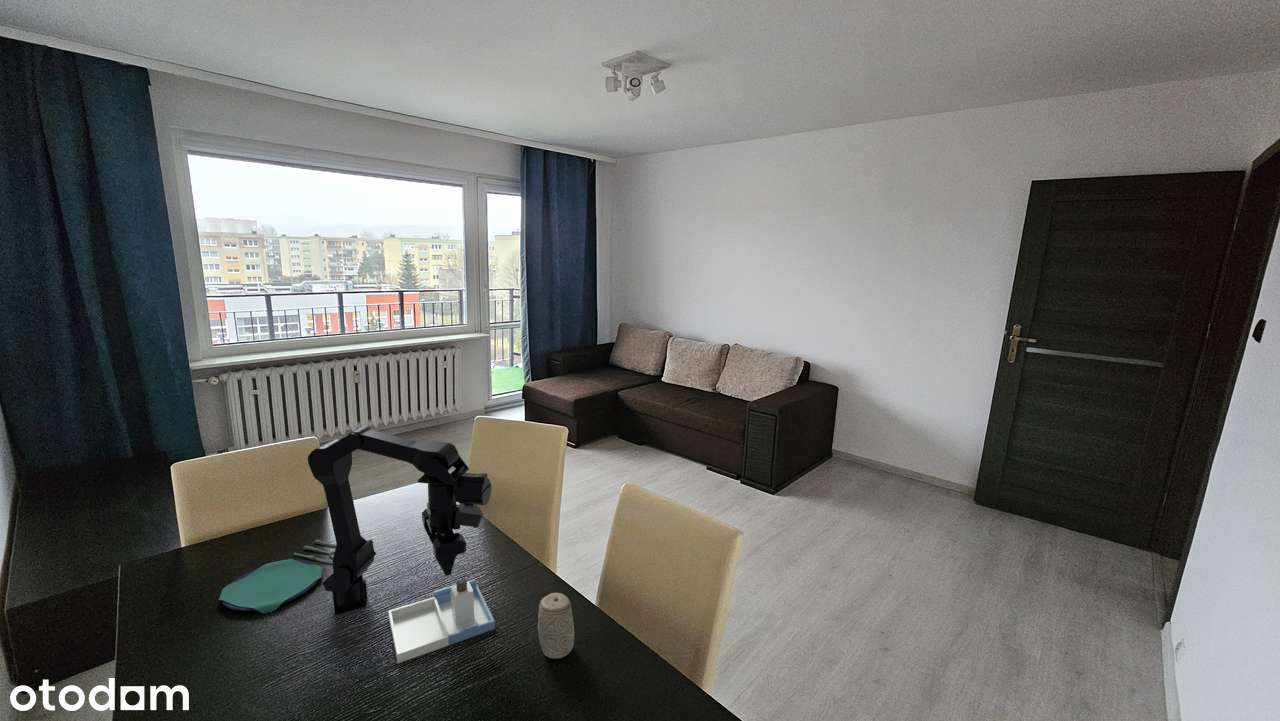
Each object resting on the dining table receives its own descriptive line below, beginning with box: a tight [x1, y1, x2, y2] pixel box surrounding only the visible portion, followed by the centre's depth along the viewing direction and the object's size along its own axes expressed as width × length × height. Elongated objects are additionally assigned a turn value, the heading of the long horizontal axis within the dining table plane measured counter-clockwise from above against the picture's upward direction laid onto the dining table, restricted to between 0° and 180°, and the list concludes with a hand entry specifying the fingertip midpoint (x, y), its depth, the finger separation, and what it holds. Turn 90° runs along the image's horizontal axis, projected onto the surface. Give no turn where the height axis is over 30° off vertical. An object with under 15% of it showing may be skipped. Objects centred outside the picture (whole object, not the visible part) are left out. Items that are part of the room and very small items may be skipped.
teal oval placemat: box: [218, 539, 336, 614], centre depth 129 cm, size 20×30×2 cm, turn 165°
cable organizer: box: [387, 578, 496, 664], centre depth 113 cm, size 20×16×4 cm
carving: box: [537, 592, 575, 659], centre depth 105 cm, size 6×8×12 cm
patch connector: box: [451, 578, 474, 625], centre depth 115 cm, size 4×4×9 cm
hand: (443, 564), depth 116 cm, fingers open, 9 cm apart
